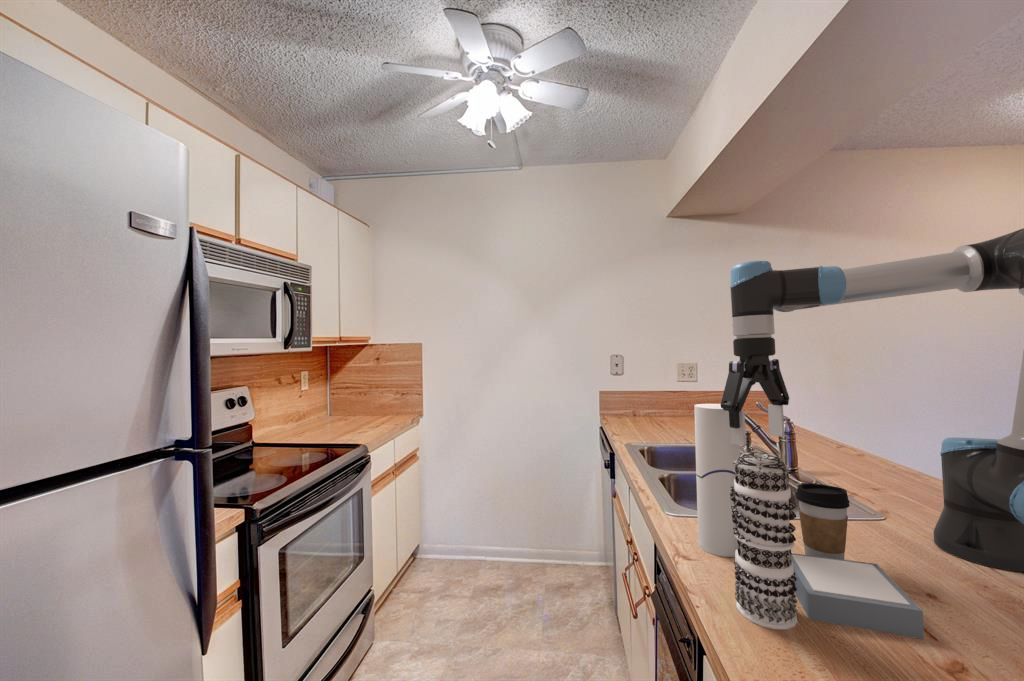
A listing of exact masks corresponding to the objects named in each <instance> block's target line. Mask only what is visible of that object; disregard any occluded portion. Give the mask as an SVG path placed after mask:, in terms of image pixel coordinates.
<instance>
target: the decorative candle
mask: <svg viewBox="0 0 1024 681" xmlns="http://www.w3.org/2000/svg"><path fill="white" fill-rule="evenodd" d="M733 464H734V465H735V480H734V486H732V487H730V488H731V489H730V490H731V491H732V492H731V493H730V496H731V497H730V499H731V500H732V501H733V505H732V506H731V509H732V513H733V514H732V522H734V523H735V526H734V527H733V530H734V532H733V533H734V536H735V537H736V538H737V546H738V549H737V550H736V551H737V561H735V560H734V569H735V571H734V575H735V576H734V578H735V582H734V586H735V587H734V588H735V592H734V595H735V602H736V610H737V611H738V612H739V614H740V615H741V616H743V617H744V618H745V619H746V620H748V621H749V622H752V623H754V624H756V625H759V626H760V627H763V628H767V629H772V630H790V629H793V628H794V627H796V625H797V624H798V619H797V614H798V613H799V611H798V609H797V605H796V604H797V603H798V600H799V599H798V598H797V595H796V594H795V592H794V591H797V588H796V587H795V582H794V581H796V580H797V578H796V577H795V573H794V572H793V562H792V560H791V557H792V556H791V554H792V553H793V552H792V549H793V548H795V546H796V545H795V542H796V541H797V538H796V537H795V535H794V534H793V533H794V532H795V531H796V526H795V525H794V524H793V523H791V522H790V521H791V520H792V521H793V520H794V519H796V518H797V514H796V513H795V512H794V511H792V510H794V509H796V507H797V504H796V503H795V502H794V501H792V500H791V497H792V494H791V493H792V492H791V487H790V483H789V482H790V478H789V477H790V476H789V471H791V470H792V468H791V467H790V466H789V465H787V464H786V463H785V462H784V460H783V459H782V458H781V457H780V456H777V455H775V454H771V453H766V452H759V451H755V452H752V451H750V452H744V453H741V454H740V456H739V458H738V459H737V460H735V461H733ZM734 488H735V489H734ZM735 495H736V496H737V500H736V497H735ZM736 507H737V508H736ZM737 519H738V520H737ZM736 570H737V571H736Z"/></svg>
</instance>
